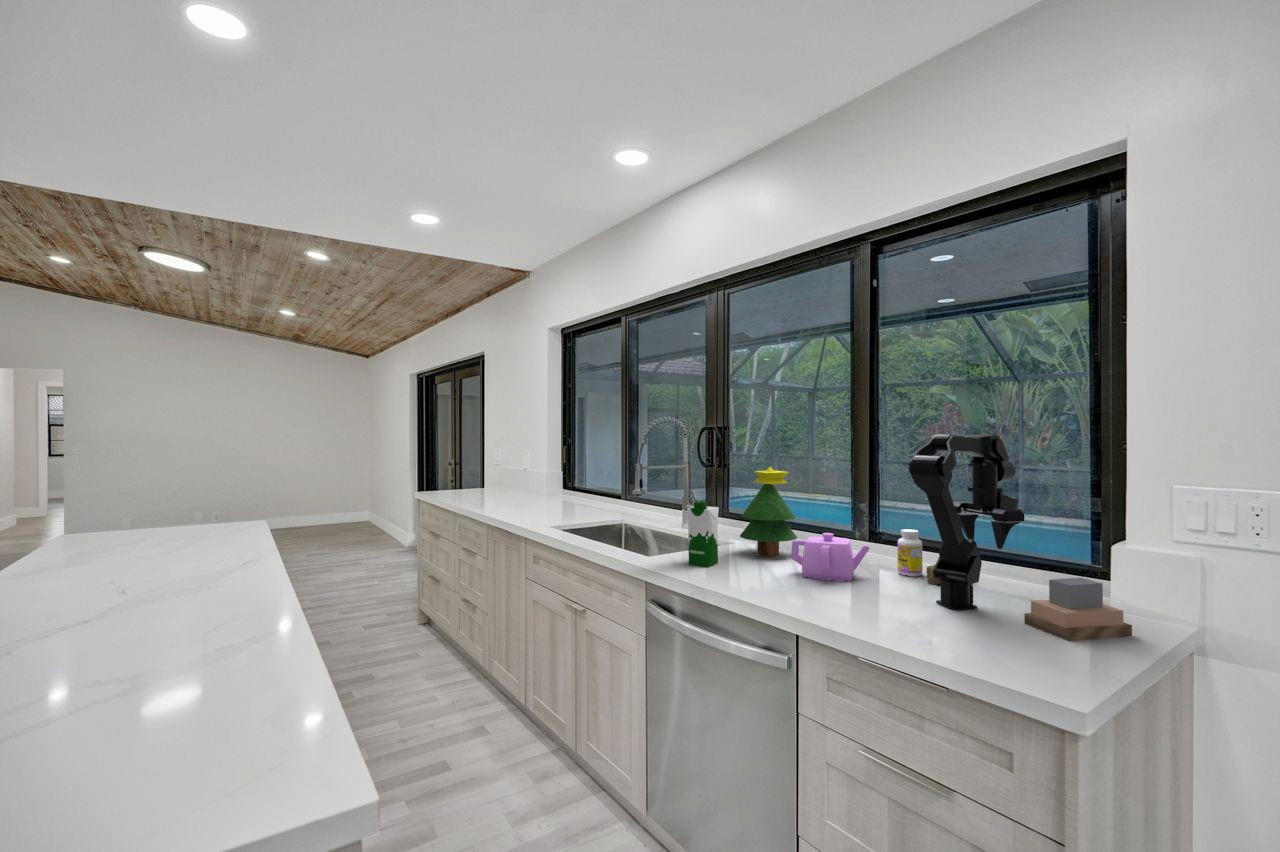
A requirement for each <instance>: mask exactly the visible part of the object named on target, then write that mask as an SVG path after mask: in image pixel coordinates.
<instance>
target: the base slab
mask: <svg viewBox="0 0 1280 852" xmlns="http://www.w3.org/2000/svg"><path fill="white" fill-rule="evenodd" d="M1024 625H1026V626H1029V627H1031V626H1032V628H1034V629H1037V630H1040V631H1042V632H1044V633H1046V634H1049V635H1052V636H1054V637H1057V638H1059V639H1062V640H1065V641H1066V642H1077V641H1078V642H1079V641H1089V640H1091V641H1092V640H1102V639H1101V638H1105V639H1113V637H1117V638H1127V637H1128V636H1130V637H1133V624H1130V623H1126V622H1124V621H1123V625H1118V626H1096V627H1075V628H1064V627H1061V626H1059V625H1056V624H1054V623H1051V622H1049V621H1046V620H1044V619H1041V618H1039V617H1036V616H1034V615H1031V612H1027V613H1026V612H1025V613H1024ZM1126 636H1127V637H1126ZM1128 638H1129V637H1128Z"/></svg>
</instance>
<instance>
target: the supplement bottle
mask: <svg viewBox="0 0 1280 852" xmlns="http://www.w3.org/2000/svg"><path fill="white" fill-rule="evenodd" d="M900 534H901V538H899V539H897V573H898V574H900V575H901V574H902V576H905V575H907V576H906V577H921V576H922V575H923V542H922V539H921V540H920V538H919V531H918V530H917V529H910V528H909V529H908V528H907V529H906V528H905V529H900Z"/></svg>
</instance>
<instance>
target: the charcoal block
mask: <svg viewBox="0 0 1280 852" xmlns="http://www.w3.org/2000/svg"><path fill="white" fill-rule="evenodd" d="M1048 582H1049V583H1048V585H1049V586H1048V587H1049V588H1048V590H1049V594H1048V595H1049V597H1048V598H1049V599H1048V600H1049V603H1051V604H1054V605H1057V606H1060V607H1063V608H1066V609H1070V610H1074V609H1088V608H1101V607H1103V604H1104V602H1103V601H1104V596H1103V595H1104V594H1103V589H1104V587H1103V585H1104V584H1103V582H1099V581H1095V580H1092V579H1087V578H1084V577H1069V578H1055V579H1051V578H1050V579H1048Z"/></svg>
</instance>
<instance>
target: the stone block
mask: <svg viewBox="0 0 1280 852" xmlns="http://www.w3.org/2000/svg"><path fill="white" fill-rule="evenodd" d="M934 566H935V564H934V565H928V566H927V567H926V582H927V583H929V582H930V583H929V584H932V585H941V584H940V578H934V574H933V569H934ZM947 571H948V570H947ZM949 572H953V571H949ZM954 573H958V572H954ZM959 574H963V573H959ZM964 575H966V574H964Z"/></svg>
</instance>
